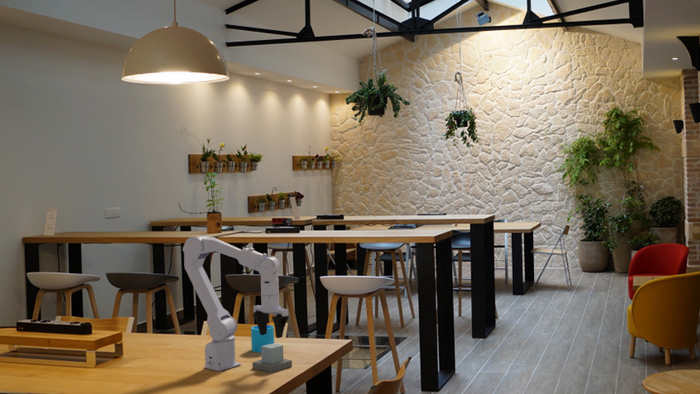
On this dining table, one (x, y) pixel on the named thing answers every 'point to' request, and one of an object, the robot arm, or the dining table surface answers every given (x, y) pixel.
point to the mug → (261, 338)
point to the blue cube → (272, 353)
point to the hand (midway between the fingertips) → (271, 336)
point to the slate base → (272, 365)
